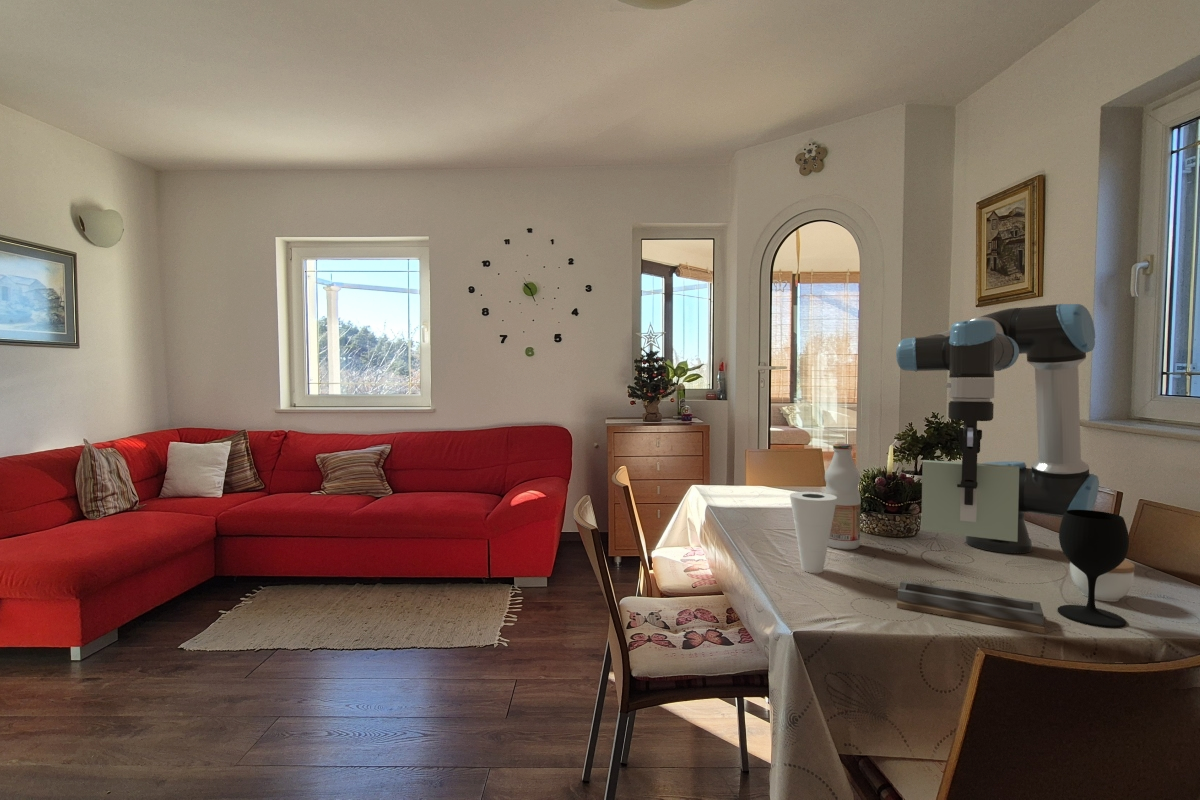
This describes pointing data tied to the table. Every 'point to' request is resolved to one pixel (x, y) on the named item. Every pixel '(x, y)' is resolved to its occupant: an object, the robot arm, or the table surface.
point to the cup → (813, 527)
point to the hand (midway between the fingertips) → (968, 518)
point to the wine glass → (1093, 558)
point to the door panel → (992, 500)
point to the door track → (972, 606)
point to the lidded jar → (1107, 582)
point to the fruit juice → (844, 498)
